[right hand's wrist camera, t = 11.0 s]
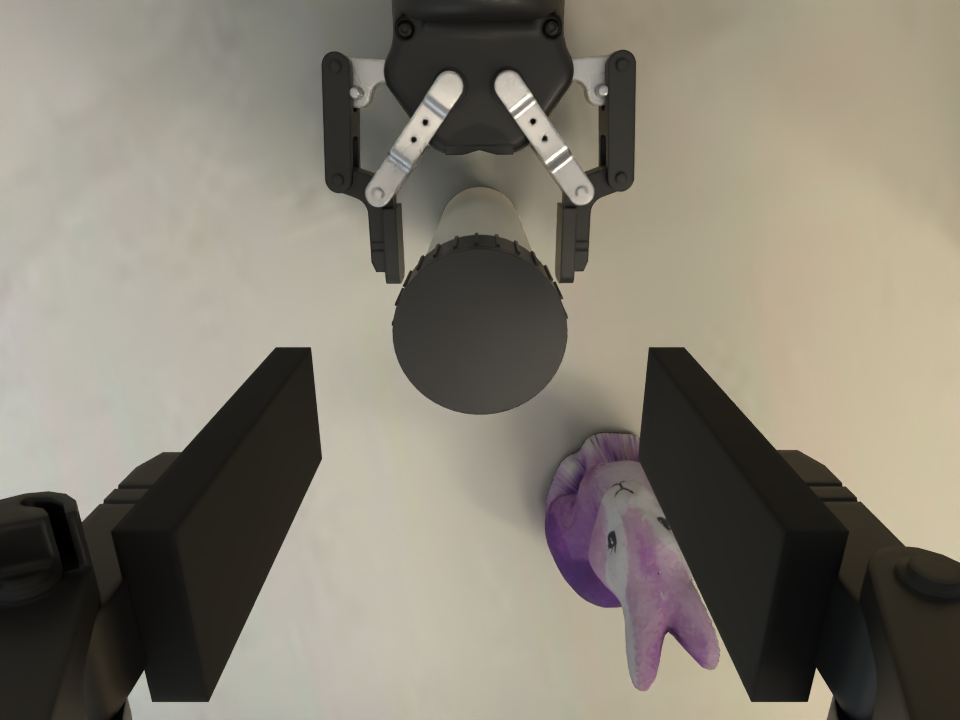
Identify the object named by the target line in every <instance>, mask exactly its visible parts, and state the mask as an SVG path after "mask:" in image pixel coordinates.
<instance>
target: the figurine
mask: <svg viewBox="0 0 960 720" xmlns="http://www.w3.org/2000/svg"><path fill="white" fill-rule="evenodd" d="M639 443H640V439H639V438H638V437H637V436H633V435H632V434H620V433H619V434H617V433H615V434H613V433H610V434H609V433H601V434H599V433H598V434H596V435H592V436H590V437H589V438H588V439H586V441H585V443H584V444H583V445H582V447H581V449H580V450H579V451H578V452H577V453H575V454H571V455H569V456H568V457H566V458H565V459H564V460H563V461H562V462H561V464H560V466H559V467H558V469H557V471H556V475H555V476H554V479H553V481H552V484H551V486H550V489H549V493H548V496H547V501H546V517H545V533H546V539H547V543H548V546H549V549H550V552H551V554H552V556H553V558H554V561H555V563H556V565H557V567H558V569H559V570H560V572H561V574H562V576H563V577H564V579H565V580H566V581H567V583H568V584H569V585H570V586H571V587H572V588H573V589H574V591H575V592H576V593H577V594H578V595H579V596H581V597H582V598H583V599H585V600H586V601H588V602H590V603H592V604H594V605H597V606H600V607H605V608H612V607H622V608H623V613H624V618H625V637H626V654H627V661H628V668H629V673H630V676H631V680H632V682H633V684H634V686H635V688H637V689H638V690H640V691H646V690H648V689H649V687H650V686H651V684H652V683H653V681H654V679H655V678H656V675H657V670H658V666H659V662H660V656H661V649H662V644H663V640H664V636H665V635H666V633H667V632H669V633H670V634H672V635H673V636H674V637H675V639H676V640H677V641H678V642H679V643H680V644H681V645H682V646H683V648H684V649H685V650H686V651H687V652H688V653H689V654H690V655H691V656H692V657H693V658H694V659H695V660H696V661H697V662H698V663H699V664H700V665H701V666H702V667H703V668H706V669H709V670H712V669H715V668H716V666H717V664H718V662H719V657H720V653H719V652H720V649H719V646H718V640H717V637H716V633H715V629H714V628H713V626H712V621H711V619H710V617H709V616H708V614H707V610H706V607H705V606H704V604H703V603H702V601H701V598H700V595H699V593H698V591H697V590H696V588H695V586H694V584H693V581H692V573H691V571H690V569H689V567H688V565H687V563H686V561H685V558H684V556H683V554H682V552H681V550H680V548H679V545H678V543H677V541H676V539H675V537H674V535H673V533H672V530H671V528H670V526H669V524H668V522H667V520H666V518H665V515H664V513H663V511H662V509H661V507H660V505H659V503H658V500H657V498H656V496H655V494H654V492H653V490H652V488H651V485H650V483H649V481H648V479H647V477H646V475H645V473H644V470H643V468H642V466H641V464H640V462H639V460H638V454H639Z"/></svg>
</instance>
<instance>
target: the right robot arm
mask: <svg viewBox="0 0 960 720" xmlns="http://www.w3.org/2000/svg"><path fill="white" fill-rule="evenodd" d="M321 460H322V454H321V443H320V433H319V423H318V413H317V403H316V393H315V383H314V373H313V363H312V353H311V347H276V348H275V349H274V350H273V351H272V352H271V353H270V354H269V356H268V357H267V358H266V359H265V360H264V361H263V362H262V363H261V365H260V366H259V367H258V368H257V369H256V370H255V371H254V372H253V373H252V375H251V376H250V377H249V378H248V379H247V380H246V381H245V382H244V383H243V385H242V386H241V387H240V388H239V389H238V390H237V391H236V392H235V393H234V395H233V396H232V397H231V398H230V399H229V400H228V401H227V402H226V404H225V405H224V406H223V407H222V408H221V409H220V410H219V411H218V412H217V414H216V415H215V416H214V417H213V418H212V419H211V420H210V421H209V422H208V424H207V425H206V426H205V427H204V428H203V429H202V430H201V431H200V432H199V434H198V435H197V436H196V437H195V438H194V439H193V440H192V441H191V443H190V444H189V445H188V446H187V447H186V448H185V449H184V450H183V451H182V452H163V453H161V454H159V455H157V456H156V457H154V458H152V459H150V460H148V461H147V462H145V463H143V464H141V465H140V466H138V467H136V468H135V469H134V470H133V471H132V472H131V473H130V474H129V475H128V476H127V477H126V478H125V479H124V480H123V481H122V482H121V483H120V484H119V485H118V489H114V490H113V491H112V492H111V493H110V494H109V495H108V496H107V497H106V498H105V499H104V503H103V504H99V505H98V506H97V507H96V508H95V509H94V510H93V512H92V513H91V514H90V515H89V516H88V517H87V518H86V519H85V520H84V521H83V522H81V518H80V515H79V511H78V507H77V503H76V500H74V499H73V498H71V497H70V496H68V495H67V494H63V493H56V492H49V491H48V492H37V493H26V494H22V495H18V496H14V497H9V498H5V499H1V500H0V720H132V715H131V709H130V706H129V702H128V698H127V697H128V695H129V694H130V692H131V691H132V689H133V687H134V686H135V684H136V682H137V681H138V679H139V677H140V676H141V674H142V673H143V671H144V670H145V674H146V678H147V682H148V687H149V691H150V695H151V699H152V702H209V700H210V698H211V696H212V693H213V691H214V689H215V687H216V685H217V683H218V681H219V678H220V676H221V674H222V672H223V670H224V668H225V666H226V663H227V661H228V659H229V657H230V655H231V653H232V651H233V648H234V646H235V644H236V642H237V640H238V638H239V636H240V633H241V631H242V629H243V627H244V625H245V623H246V621H247V618H248V616H249V614H250V612H251V610H252V608H253V606H254V603H255V601H256V599H257V597H258V595H259V593H260V591H261V588H262V586H263V584H264V582H265V580H266V578H267V576H268V573H269V571H270V569H271V567H272V565H273V563H274V560H275V558H276V556H277V554H278V552H279V550H280V548H281V545H282V543H283V541H284V539H285V537H286V535H287V533H288V530H289V528H290V526H291V524H292V522H293V520H294V518H295V515H296V513H297V511H298V509H299V507H300V505H301V503H302V500H303V498H304V496H305V494H306V492H307V490H308V488H309V485H310V483H311V481H312V479H313V477H314V475H315V473H316V470H317V468H318V466H319V464H320V462H321ZM638 460H639V462H640V464H641V466H642V468H643V470H644V473H645V475H646V477H647V479H648V481H649V483H650V485H651V488H652V490H653V492H654V494H655V496H656V498H657V500H658V503H659V505H660V507H661V509H662V511H663V513H664V515H665V518H666V520H667V522H668V524H669V526H670V528H671V530H672V533H673V535H674V537H675V539H676V541H677V543H678V545H679V548H680V550H681V552H682V554H683V556H684V558H685V561H686V563H687V565H688V567H689V569H690V571H691V573H692V576H693V578H694V580H695V582H696V584H697V586H698V588H699V591H700V593H701V595H702V597H703V599H704V601H705V603H706V606H707V608H708V610H709V612H710V614H711V616H712V618H713V621H714V623H715V625H716V627H717V629H718V631H719V633H720V636H721V638H722V640H723V642H724V644H725V646H726V648H727V651H728V653H729V655H730V657H731V659H732V661H733V663H734V666H735V668H736V670H737V672H738V674H739V676H740V678H741V681H742V683H743V685H744V687H745V689H746V691H747V693H748V696H749V698H750V700H751V702H808V699H809V695H810V691H811V687H812V682H813V678H814V674H815V670H816V668H817V669H818V671H819V672H820V674H821V676H822V677H823V679H824V681H825V682H826V684H827V685H828V687H829V689H830V690H831V692H832V694H833V698H832V702H831V706H830V709H829V713H828V717H827V720H960V563H959V562H957V561H955V560H953V559H951V558H948V557H946V556H944V555H942V554H938V553H935V552H931V551H928V550H924V549H921V548H915V547H905V546H904V545H903V544H902V543H901V542H900V541H899V540H898V539H897V538H896V537H895V536H894V535H893V534H892V533H891V532H890V531H889V530H888V529H887V528H886V527H885V526H884V525H883V524H882V523H881V522H880V521H879V520H878V519H877V518H876V517H875V516H874V515H873V514H872V513H871V512H870V511H869V510H868V509H867V508H866V507H865V505H864V504H863V503H862V502H857V497H856V496H855V495H854V494H853V493H852V492H851V491H850V490H849V489H848V488H847V487H842V482H841V481H840V480H839V479H838V478H837V477H836V476H835V475H834V474H833V473H832V472H831V471H830V470H829V469H828V468H827V467H826V466H825V465H823V464H821V463H819V462H818V461H816V460H814V459H812V458H810V457H809V456H807V455H805V454H803V453H802V452H800V451H798V450H776V449H775V448H774V447H773V446H772V445H771V444H770V443H769V441H768V440H767V439H766V438H765V437H764V436H763V435H762V434H761V432H760V431H759V430H758V429H757V428H756V427H755V426H754V425H753V424H752V422H751V421H750V420H749V419H748V418H747V417H746V416H745V415H744V414H743V412H742V411H741V410H740V409H739V408H738V407H737V406H736V405H735V404H734V402H733V401H732V400H731V399H730V398H729V397H728V396H727V395H726V393H725V392H724V391H723V390H722V389H721V388H720V387H719V386H718V385H717V383H716V382H715V381H714V380H713V379H712V378H711V377H710V376H709V375H708V373H707V372H706V371H705V370H704V369H703V368H702V367H701V366H700V365H699V363H698V362H697V361H696V360H695V359H694V358H693V357H692V356H691V354H690V353H689V352H688V351H687V350H686V349H685V348H684V347H649V353H648V363H647V373H646V383H645V393H644V403H643V413H642V423H641V433H640V443H639V454H638Z"/></svg>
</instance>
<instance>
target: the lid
mask: <svg viewBox="0 0 960 720" xmlns="http://www.w3.org/2000/svg"><path fill="white" fill-rule="evenodd" d="M403 287H405V288H402V289H401V292H400V294H399V296H398V298H397V300H396V302H395V306H397V307H396V310H395V315H394V319H393V321H392V326H393V343H394V348H395V353H396V356H397V359H398V362H399V364H400V366H401V368H402V370H403V372H404V373H405V375H406V376H407V378H408V379H409V381H410V382H411V383H412V384H413V385H414V386H415V387H416V389H417V390H419V391H420V392H421V393H422V394H423V395H424V396H426V397H427V398H429V399H430V400H431V401H433V402H435V403H437V404H439V405H440V406H442V407H445V408H447V409H450V410H453V411H457V412H461V413H466V414H475V415H478V414H494V413H499V412H503V411H507V410H510V409H513V408H515V407H518V406H520V405H521V404H523V403H525V402H527V401H529V400H530V399H531V398H533V397H534V396H536V395H537V394H538V393H539V392H540V391H541V390H542V389H544V388H545V386H546V385H547V384H548V383H549V382H550V381H551V379H552V378H553V376H554V375H555V373H556V372H557V370H558V368H559V366H560V364H561V362H562V359H563V356H564V353H565V348H566V343H567V319H568V316H567V313H566V311H565V309H564V307H563V304H562V302H561V299H563V297H562V294H561V292H560V290H559V288H558V286H557V284H556V282H553V278H552V276H551V274H550V271H549V269H548V267H547V266H546V265H544V266H543V265H542V263H541V262H540V261H539V260H538V259H537V258H536V256H535V253H534V252H533V251H531V252H529V251H528V250H527V249H525V248H524V247H522V246H520V245H519V244H518V241H516V240H514V242H513V241H510V240H508V239H505V238H501V237H499V235H498V234H495V236H492V235H478V233H475V235H468V236H462V237H458V236H455V238H454V239H452V240H450V241H447V242H445V243H443V244H441V245H440V244H439V243H438V244H437V245H436V247H435V248H434V249H433V250H432V251H431V252H429V253H428V254H427V255H426V256H424V255H422V256H421V258H420V260H419V262H418V265H417V266H416V267H415V269H414V270H413V271H411V270H410V272H409V274H408V276H407V278H406V280H405V282H404V284H403Z"/></svg>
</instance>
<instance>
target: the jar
mask: <svg viewBox="0 0 960 720" xmlns="http://www.w3.org/2000/svg"><path fill="white" fill-rule="evenodd" d="M475 233H478V235H492V236H495V234H498V235H499V237H501V238H505V239H508V240H510V241H513V242H514V240H516V241H518V244H519V245H520V246H522V247H524V248H525V249H527V250H528V251H529V252H531V251H532V250H531V247H530V245H529V242H528V240H527V237H526V235H525V232H524V229H523V227H522V224H521V222H520V219H519V217H518V214H517V212H516V209H515V208H514V206H513V204H512V203H511V202H510V200H509V199H508V198H507V197H506V196H504V195H503V194H502V193H500V192H498V191H496V190H494V189H491V188H487V187H474V188H469V189H466V190H464V191H462V192H460V193H458V194H457V195H456V196H454V197H453V198H452V199H451V200H450V202H449V203H448V204H447V206H446V208H445V209H444V212H443V214H442V217H441V219H440V222H439V224H438V227H437V229H436V232H435V234H434V237H433V239H432V242H431V244H430V247H429V250H428V252H427V254H428V253H429V252H431V251H432V250H433V249H434V248H435V247H436V245H437V244H438V243H439V244H440V245H441V244H443V243H445V242H447V241H450V240H452V239H454V238H455V236H458V237H462V236H468V235H475Z"/></svg>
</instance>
